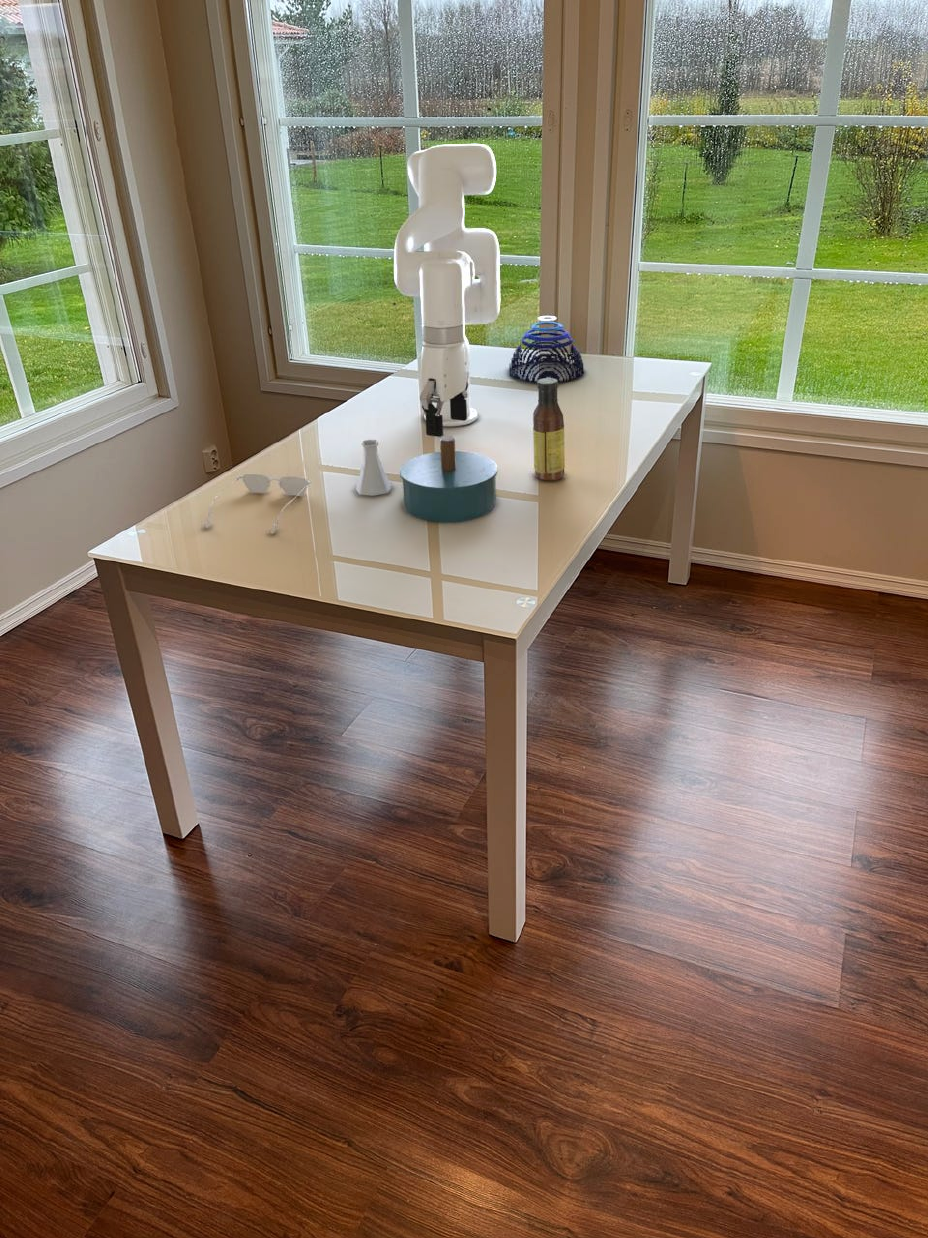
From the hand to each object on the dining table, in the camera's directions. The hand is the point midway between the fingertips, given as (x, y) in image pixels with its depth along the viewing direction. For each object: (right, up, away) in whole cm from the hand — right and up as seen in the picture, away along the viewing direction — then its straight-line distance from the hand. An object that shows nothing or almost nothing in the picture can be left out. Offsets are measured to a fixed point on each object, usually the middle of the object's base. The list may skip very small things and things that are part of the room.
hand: (447, 427), depth 176 cm
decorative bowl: (+26, +31, +81) cm, 90 cm away
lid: (0, -7, +5) cm, 9 cm away
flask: (-15, -10, +15) cm, 23 cm away
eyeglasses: (-36, -15, +7) cm, 40 cm away
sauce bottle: (+20, -6, +18) cm, 28 cm away
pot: (0, -13, +8) cm, 15 cm away
